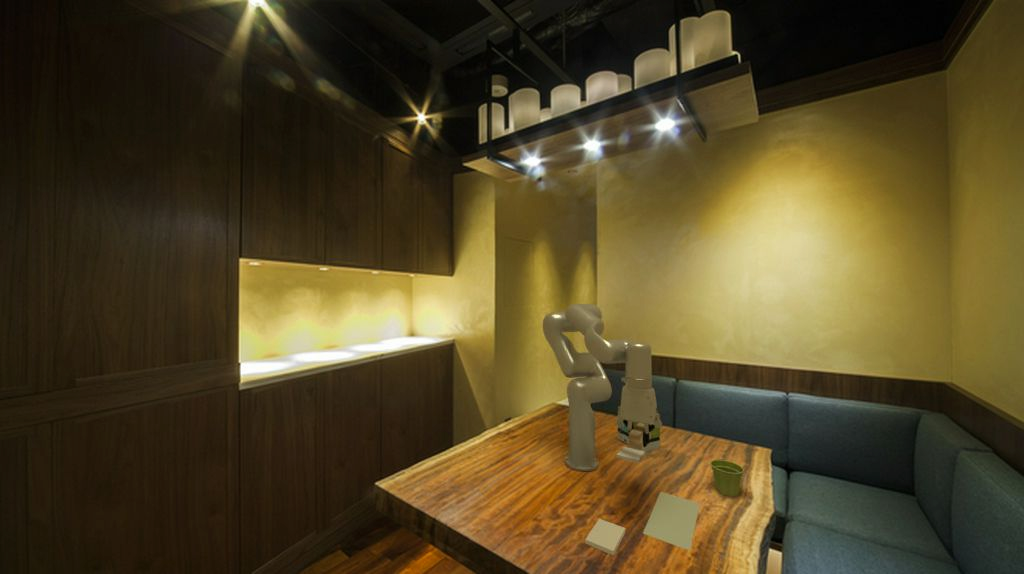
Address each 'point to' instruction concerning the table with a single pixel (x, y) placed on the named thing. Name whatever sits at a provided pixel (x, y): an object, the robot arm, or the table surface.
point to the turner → (634, 445)
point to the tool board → (673, 520)
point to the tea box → (624, 432)
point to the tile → (605, 536)
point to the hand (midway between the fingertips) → (639, 443)
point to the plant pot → (727, 477)
